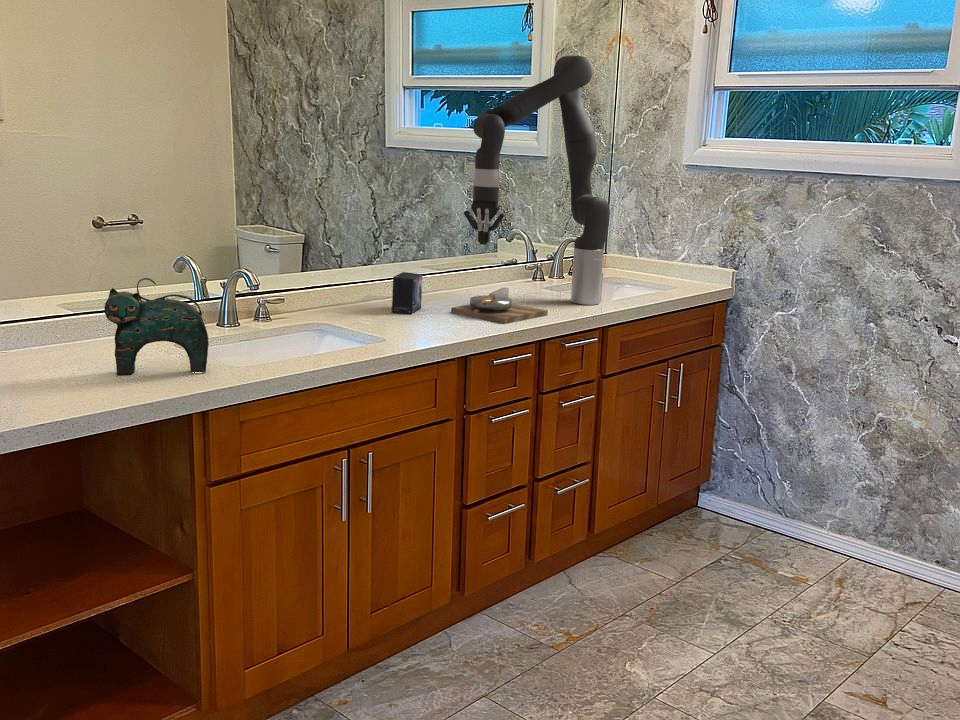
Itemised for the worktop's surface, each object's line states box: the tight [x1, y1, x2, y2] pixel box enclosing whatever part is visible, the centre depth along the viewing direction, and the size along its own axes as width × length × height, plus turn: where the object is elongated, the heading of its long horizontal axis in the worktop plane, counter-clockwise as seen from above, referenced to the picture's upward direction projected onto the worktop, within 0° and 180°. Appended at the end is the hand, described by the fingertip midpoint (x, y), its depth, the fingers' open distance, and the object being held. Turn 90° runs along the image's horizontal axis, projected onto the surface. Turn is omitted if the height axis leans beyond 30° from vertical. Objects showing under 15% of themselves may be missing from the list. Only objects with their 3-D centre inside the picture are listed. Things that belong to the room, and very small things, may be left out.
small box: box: [391, 271, 423, 315], centre depth 275 cm, size 11×6×10 cm, turn 168°
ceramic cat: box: [104, 277, 210, 376], centre depth 197 cm, size 20×6×20 cm, turn 103°
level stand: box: [450, 302, 549, 325], centre depth 277 cm, size 20×20×2 cm
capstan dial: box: [469, 287, 513, 310], centre depth 278 cm, size 20×12×4 cm, turn 160°
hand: (483, 244), depth 281 cm, fingers closed
